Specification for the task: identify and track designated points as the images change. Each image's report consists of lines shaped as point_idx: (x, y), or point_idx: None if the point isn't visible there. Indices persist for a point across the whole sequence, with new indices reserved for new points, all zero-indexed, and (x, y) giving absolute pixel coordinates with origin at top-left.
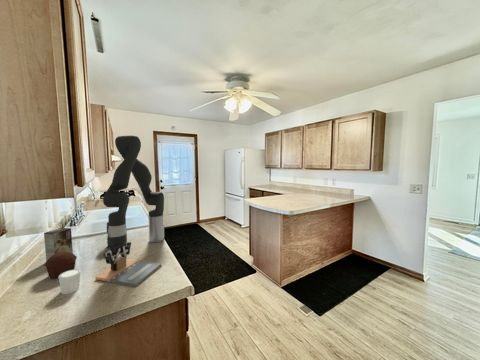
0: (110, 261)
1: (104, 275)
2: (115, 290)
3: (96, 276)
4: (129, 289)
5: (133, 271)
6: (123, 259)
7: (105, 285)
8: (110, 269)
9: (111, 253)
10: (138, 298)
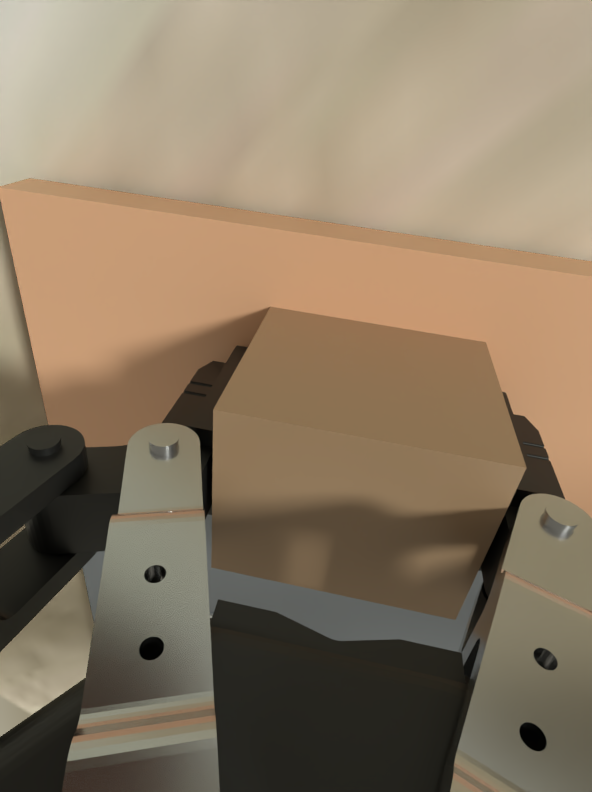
0: (4, 578)
1: (90, 317)
2: (9, 539)
3: (11, 199)
4: (70, 619)
5: (296, 597)
6: (371, 586)
7: (15, 413)
8: (280, 282)
9: (92, 653)
10: (25, 684)
